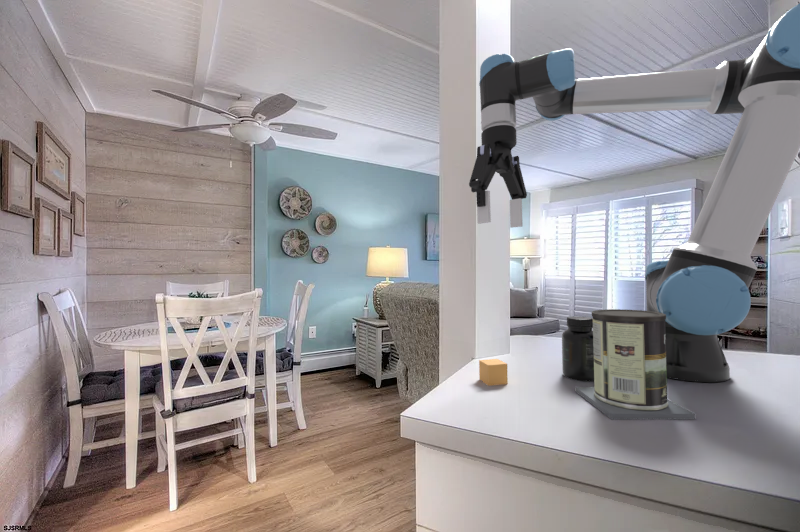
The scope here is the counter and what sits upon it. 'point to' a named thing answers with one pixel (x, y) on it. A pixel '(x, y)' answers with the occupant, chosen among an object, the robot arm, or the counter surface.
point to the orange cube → (493, 372)
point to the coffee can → (630, 358)
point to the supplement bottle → (578, 349)
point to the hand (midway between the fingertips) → (501, 225)
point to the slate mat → (623, 413)
